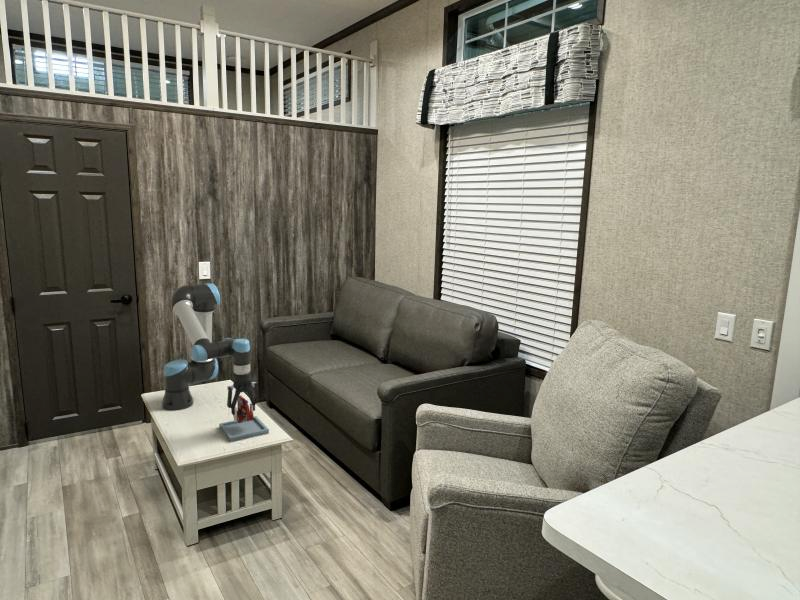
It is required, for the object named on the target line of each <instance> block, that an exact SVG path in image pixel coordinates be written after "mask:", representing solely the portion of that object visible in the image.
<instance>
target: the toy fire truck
mask: <svg viewBox="0 0 800 600" xmlns="http://www.w3.org/2000/svg"><path fill="white" fill-rule="evenodd" d="M232 416H233V418H234V415H232ZM254 416H255V415H254V412H253V413H252V412H250V404H249V400H247V399H245V397H243V396H242V395H239V397H238V400H237V421H238V423H242V421H243V420H246V421H251V420H253V418H254Z"/></svg>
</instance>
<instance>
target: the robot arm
mask: <svg viewBox="0 0 800 600" xmlns="http://www.w3.org/2000/svg"><path fill="white" fill-rule="evenodd" d="M220 303H221V295H220V290H218V287H217V286H216V285H215V284H214V283H206V282H205V283H197V284H186V285H185V284H184V285H182V286H179V287H178V288H177V289H175V290H174V292H173V293H172V295H171V298H170V307H171V311H172V312H173V314H175V315H176V316H177V317H178V319H179V321H180V323H181V325H182V326H183V329H184V331H185V333H186V335H187V337H188V339H189V340H190V342H191V344H192V347H191V348H190V354H191V356H190V361H189V360H187V359H183V358H180V359H175V360H172V361H169V362H167V363H166V364H165V365H164V366H163V378H164V379H163V381H164V382H163V383H164V394H163V398H162V401H161V407H162V408H163V409H164V410H168V411H178V410H179V411H180V410H184V409H188V408H190V407H191V406H193V404H194V398H193V395H192V393H191V391H190V384H196V383H200V382H205V381H207V382H208V381H210V380H213V379H215V378H217V375H218V374H219V362H218V359H220V358H225V357H232V360H233V361H232V362H233V363H232V364H233V367H232V369H233V384H232V385H228V386H227V399H226V400H227V401H226V407H227V408H228V409H231V410H230V411H231V412H230V414H231V415H232V416H233V415H234V417H233V421H235V422H237V410H238V407H236V405H237V404H238V402H237V400H238V397H239V396H240V394H241V393H246V394H247V397H248V399H249V400H250V403H249V410H250V412H252V413H253V414H254V412H255V411H256V405H257V404H258V403H259V402H260V400H259V393H258V382H257V381H252V378H251V345H250V341H249V339H247V338H236V339H235V338H231V337H226V338H224V339H223V340H221V341H215V342H213V339H212V338H213V337H212V336H213V335H212V334H213V313H214V312H215V311H216V306H218V305H220ZM251 386H252V391H253V395H252V393H251V390H250V389H251ZM234 389H235V390H234ZM233 391H234V395H233ZM253 397H254V398H253Z"/></svg>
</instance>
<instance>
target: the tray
mask: <svg viewBox="0 0 800 600" xmlns="http://www.w3.org/2000/svg"><path fill="white" fill-rule="evenodd" d="M253 416H254V418H253V420H251V421H246V420H243V421H242V423H238V421H237V422H235V421H234V420H231V421H229V420H228V421H226V422H221V423H218V424H219V425H218V428H219V429H220V431H221V432H222V433H223V434H224V436H225V437H226V439H228V441H229V442H230V443H233V442H237V441H241V440H246V439H250V437H251V438H254V436H255V437H258V436H259V435H260V436H264V435H268V433H269V434H270V429H269V428H268V427H267V426H266V424H264V423H263V421H261V420H260V418H259V417H258V416H257V415H256V416H255V415H253ZM263 434H264V435H263Z"/></svg>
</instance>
